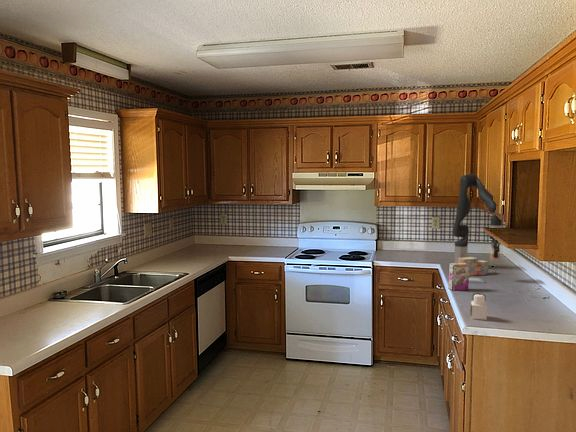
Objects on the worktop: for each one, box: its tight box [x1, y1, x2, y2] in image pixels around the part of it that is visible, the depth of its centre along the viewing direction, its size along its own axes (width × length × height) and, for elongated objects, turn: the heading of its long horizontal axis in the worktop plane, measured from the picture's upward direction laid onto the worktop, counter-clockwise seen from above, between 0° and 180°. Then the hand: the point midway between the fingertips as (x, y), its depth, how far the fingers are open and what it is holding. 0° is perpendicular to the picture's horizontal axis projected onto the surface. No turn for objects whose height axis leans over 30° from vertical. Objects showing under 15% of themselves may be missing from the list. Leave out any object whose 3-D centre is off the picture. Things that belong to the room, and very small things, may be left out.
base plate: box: [468, 276, 486, 284], centre depth 320 cm, size 12×12×1 cm
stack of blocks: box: [458, 256, 489, 277], centre depth 340 cm, size 21×6×12 cm, turn 106°
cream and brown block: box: [489, 246, 501, 261], centre depth 318 cm, size 5×5×8 cm
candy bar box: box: [448, 262, 470, 292], centre depth 296 cm, size 11×5×16 cm, turn 100°
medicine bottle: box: [469, 292, 488, 321], centre depth 240 cm, size 7×7×12 cm
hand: (494, 256), depth 318 cm, fingers closed on cream and brown block, 5 cm apart
